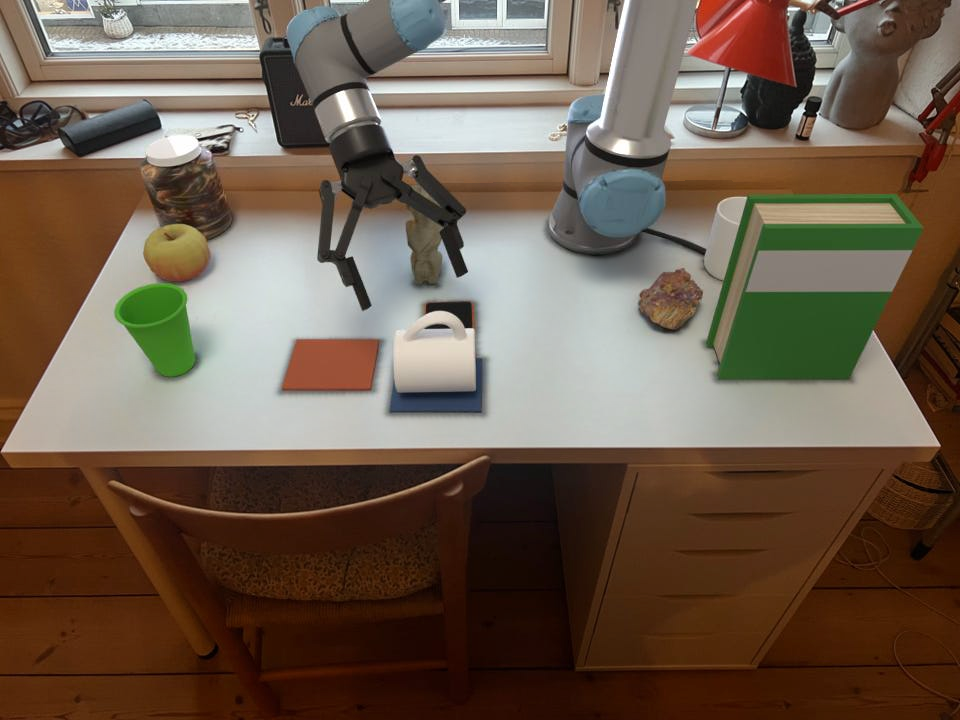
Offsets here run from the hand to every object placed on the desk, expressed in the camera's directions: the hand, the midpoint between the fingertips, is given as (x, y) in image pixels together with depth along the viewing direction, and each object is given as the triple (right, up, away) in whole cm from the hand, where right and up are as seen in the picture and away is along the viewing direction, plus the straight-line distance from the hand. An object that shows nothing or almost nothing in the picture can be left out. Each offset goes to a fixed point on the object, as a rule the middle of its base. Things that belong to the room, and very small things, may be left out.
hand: (416, 291), depth 90 cm
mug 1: (+3, -12, +5) cm, 13 cm away
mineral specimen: (+37, -1, +16) cm, 40 cm away
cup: (-34, -10, +9) cm, 37 cm away
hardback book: (+50, -9, +8) cm, 51 cm away
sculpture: (0, +5, +24) cm, 24 cm away
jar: (-42, +15, +35) cm, 57 cm away
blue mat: (+2, -12, +5) cm, 14 cm away
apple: (-40, +5, +25) cm, 48 cm away
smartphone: (+4, -6, +13) cm, 14 cm away
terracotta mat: (-12, -10, +8) cm, 18 cm away
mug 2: (+49, +5, +23) cm, 54 cm away
